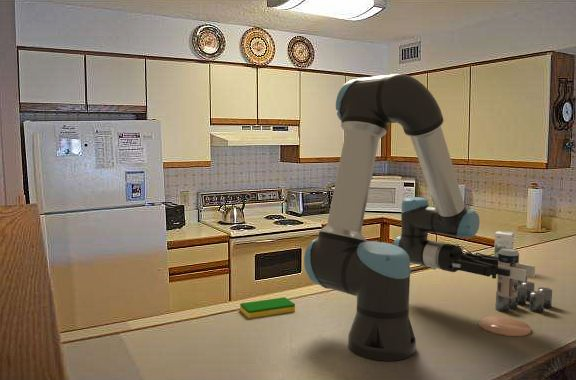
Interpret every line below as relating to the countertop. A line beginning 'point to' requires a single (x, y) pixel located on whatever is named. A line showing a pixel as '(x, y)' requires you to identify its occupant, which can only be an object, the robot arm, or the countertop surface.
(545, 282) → the countertop surface
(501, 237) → the syrup box
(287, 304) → the dish sponge
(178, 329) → the countertop surface
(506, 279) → the beer can
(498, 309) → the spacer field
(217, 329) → the countertop surface
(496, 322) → the peach disc
